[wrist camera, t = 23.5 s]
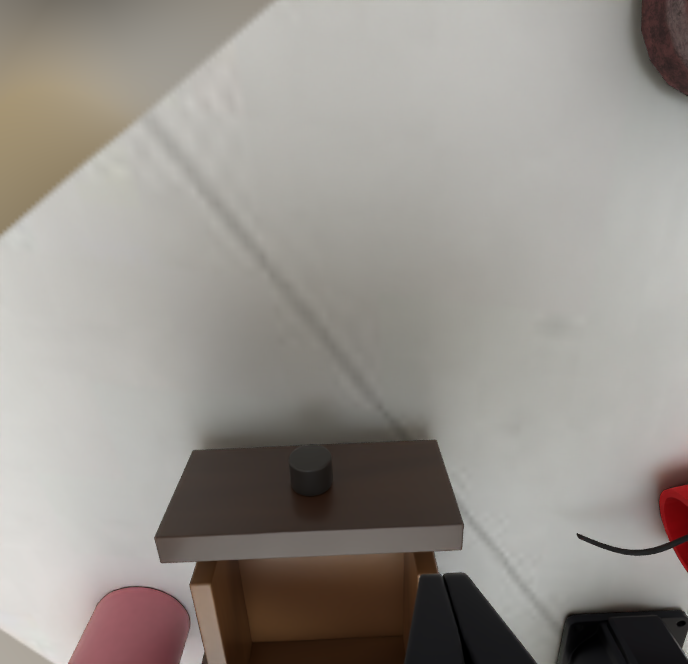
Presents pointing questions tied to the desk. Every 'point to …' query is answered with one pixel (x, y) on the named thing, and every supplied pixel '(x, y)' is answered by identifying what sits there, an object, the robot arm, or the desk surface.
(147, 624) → the lotion bottle
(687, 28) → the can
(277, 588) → the drawer
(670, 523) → the dynamite stick
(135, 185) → the desk surface
